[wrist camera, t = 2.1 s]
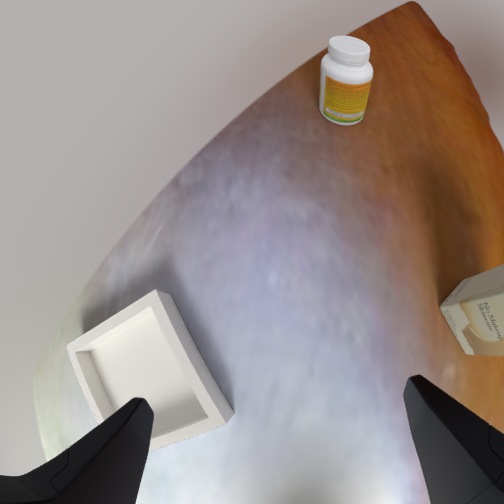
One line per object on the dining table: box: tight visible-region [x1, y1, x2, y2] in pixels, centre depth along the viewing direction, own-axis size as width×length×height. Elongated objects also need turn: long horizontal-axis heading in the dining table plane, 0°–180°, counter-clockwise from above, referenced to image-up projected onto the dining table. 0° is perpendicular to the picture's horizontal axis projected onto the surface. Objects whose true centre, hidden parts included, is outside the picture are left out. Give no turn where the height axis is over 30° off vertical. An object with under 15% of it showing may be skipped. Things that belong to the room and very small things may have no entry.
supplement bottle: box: [319, 36, 373, 125], centre depth 23 cm, size 5×5×10 cm
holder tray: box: [66, 289, 235, 451], centre depth 21 cm, size 12×12×3 cm
